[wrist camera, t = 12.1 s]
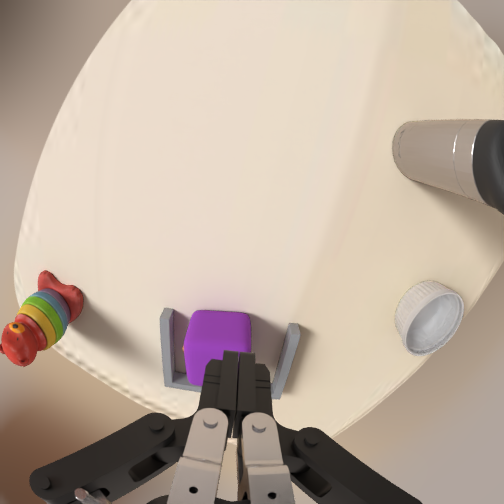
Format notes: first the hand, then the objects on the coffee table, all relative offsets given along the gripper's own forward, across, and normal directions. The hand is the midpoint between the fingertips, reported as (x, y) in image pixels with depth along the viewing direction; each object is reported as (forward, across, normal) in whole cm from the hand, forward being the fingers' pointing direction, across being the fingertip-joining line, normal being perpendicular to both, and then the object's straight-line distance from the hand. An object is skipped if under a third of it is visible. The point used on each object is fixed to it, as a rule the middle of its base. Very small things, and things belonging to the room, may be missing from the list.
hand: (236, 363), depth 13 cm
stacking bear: (+27, +34, +19) cm, 47 cm away
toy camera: (+28, +2, +21) cm, 35 cm away
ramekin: (+28, -34, +12) cm, 45 cm away
